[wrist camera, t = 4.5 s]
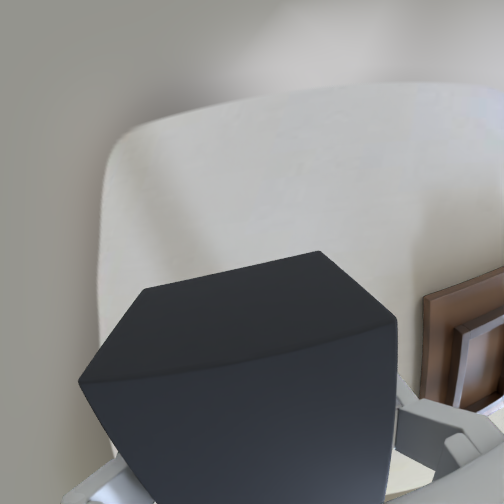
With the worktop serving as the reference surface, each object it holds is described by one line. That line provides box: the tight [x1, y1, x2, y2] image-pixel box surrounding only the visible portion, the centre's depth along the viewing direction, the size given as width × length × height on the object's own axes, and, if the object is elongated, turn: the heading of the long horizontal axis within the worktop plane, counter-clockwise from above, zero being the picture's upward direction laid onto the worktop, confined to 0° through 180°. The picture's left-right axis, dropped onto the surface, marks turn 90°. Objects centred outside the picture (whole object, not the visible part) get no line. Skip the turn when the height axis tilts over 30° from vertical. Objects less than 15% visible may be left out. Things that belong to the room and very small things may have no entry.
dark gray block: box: [78, 251, 398, 504], centre depth 8 cm, size 9×6×5 cm, turn 12°
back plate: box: [419, 266, 504, 416], centre depth 25 cm, size 20×15×3 cm
